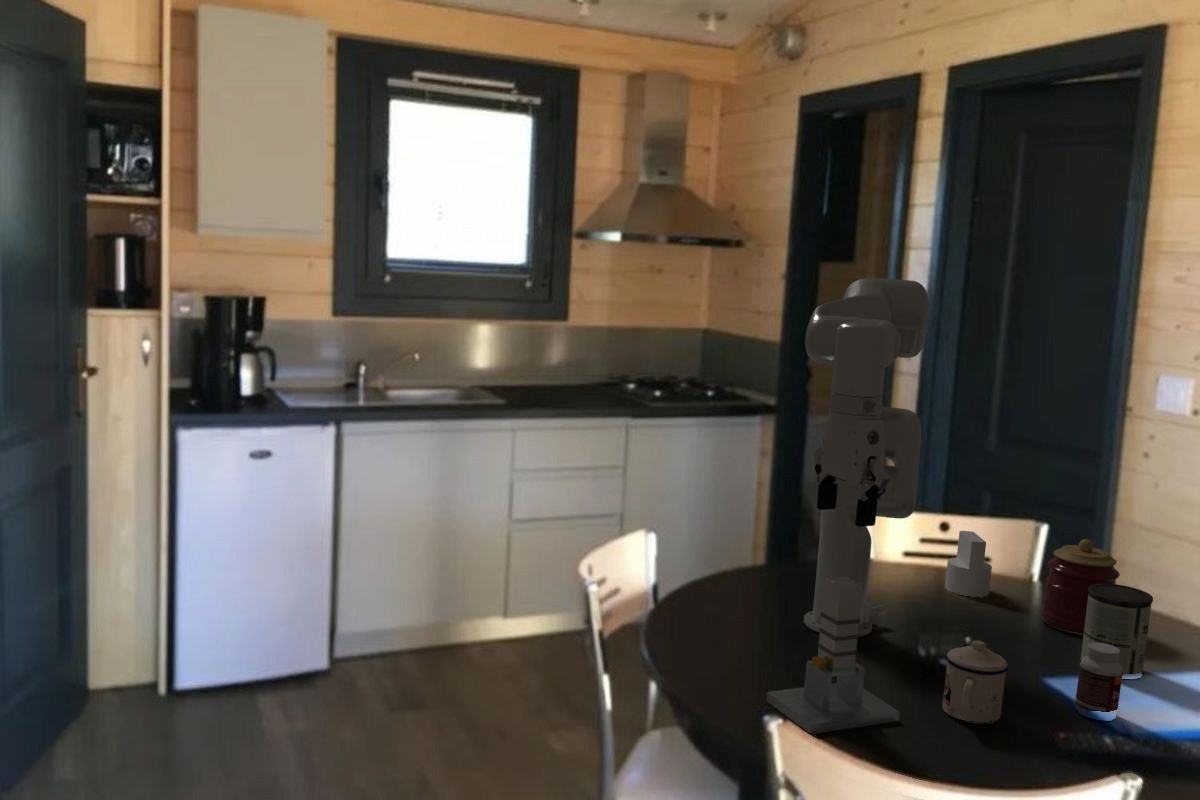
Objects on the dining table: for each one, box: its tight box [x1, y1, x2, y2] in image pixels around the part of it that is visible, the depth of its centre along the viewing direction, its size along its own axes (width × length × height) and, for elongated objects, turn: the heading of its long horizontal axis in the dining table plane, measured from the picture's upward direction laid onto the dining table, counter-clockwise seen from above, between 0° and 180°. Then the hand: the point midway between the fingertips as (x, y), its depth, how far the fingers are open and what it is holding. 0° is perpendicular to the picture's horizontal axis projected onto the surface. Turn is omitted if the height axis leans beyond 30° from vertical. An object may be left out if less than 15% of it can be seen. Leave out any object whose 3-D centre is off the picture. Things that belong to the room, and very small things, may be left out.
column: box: [817, 577, 862, 678], centre depth 167 cm, size 4×4×14 cm
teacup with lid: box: [942, 640, 1009, 722], centre depth 169 cm, size 12×9×12 cm
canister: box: [1041, 538, 1121, 633], centre depth 215 cm, size 13×13×18 cm
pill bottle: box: [1074, 643, 1123, 712], centre depth 173 cm, size 6×6×11 cm
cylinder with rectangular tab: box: [944, 530, 993, 598], centre depth 235 cm, size 9×9×12 cm
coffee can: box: [1080, 583, 1154, 674], centre depth 193 cm, size 10×10×14 cm
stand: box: [765, 655, 900, 735], centre depth 169 cm, size 16×12×9 cm
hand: (845, 517), depth 167 cm, fingers open, 9 cm apart
